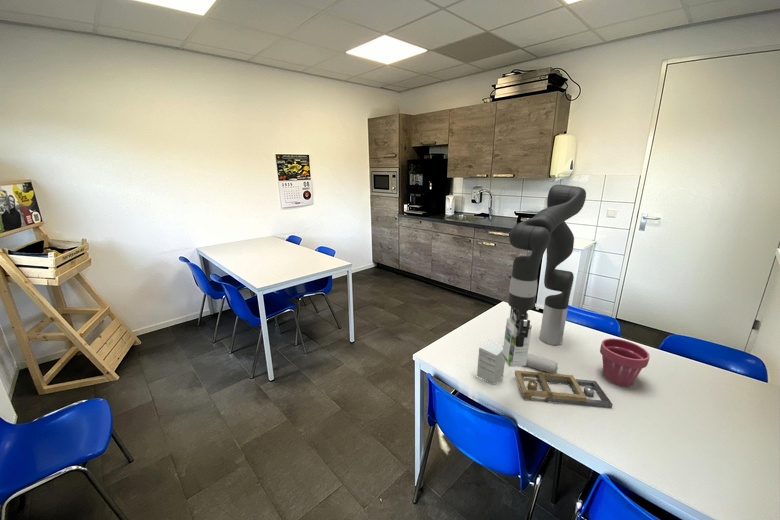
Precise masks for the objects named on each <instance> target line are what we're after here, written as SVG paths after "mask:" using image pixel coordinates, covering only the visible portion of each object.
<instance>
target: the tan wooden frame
mask: <svg viewBox="0 0 780 520" xmlns="http://www.w3.org/2000/svg"><path fill="white" fill-rule="evenodd" d="M514 371H515V372H514V375H515V378H516V381H517V383H518V386H519V388H520V393H521V395H522V396H523V397H524V400H525V401H532V398H542V399H546V398H552V399H562V400H572V401H582V402H586V401H587V399H588V398H587V396H585V394H584V392H583V391H584V390H582V388H581V386H580V385H579V384H578V383H577V381H576V380H575V379H576V378H575V376H574V375H573V374H561V373H549V372H543V371H541V372H540V371H527V370H517V369H514ZM525 378H533V380H532V379H530V380H528V382H527V387H526V383H525V381H524V380H525ZM537 378H539V380H540V382H541V385H542V387H543V389H544V391H542V390H538V381H535V380H534V379H537ZM546 379H553V380H564V381H570V383H571V385H572V386H573V388H574V390H575V392H576V393H577V394H574V393H568V392H557V391H552V390H551V388H550V386H549V383H547V381H546Z"/></svg>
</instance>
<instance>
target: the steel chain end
mask: <svg viewBox="0 0 780 520" xmlns="http://www.w3.org/2000/svg"><path fill="white" fill-rule="evenodd" d="M536 380H537V381H536V382H537V384H538V385H539V387H540V389H541V391H544V389H543V387H542V385H541V382H540V380H539V378H536ZM575 380H576V381H577V383H578V384H579V386H580V385H581V386H580V387H582V386H583V390H582V391H583V392H584V394H585V396H586V397H588V398H587V401H586V402H582V401H572V400H562V399H552V398H545V401H546V402H547V403H554V404H566V405H574V406H576V405H577V406H586V407H594V408H604V409H605V408H606V409H612V408H613V403H612V401H611V400H610V399H609V397H608V396H607V394H606V393H605V392H604V390H603V389H602V388H601V386H600V384H599V383H598V382H597V381H596V380H592V379H579V378H575ZM546 381H547V382H548V384H549V383H550V384H558V383H561V385H568V386H569V388H570V389H572V390H571V391H572V394H577V393H576V392H575V390H574V388H573V386H572V385H571V383H570V381H564V380H553V379H546ZM595 393H596V394H597V396H598V397H599V399H590V398H593V397H594V394H595Z"/></svg>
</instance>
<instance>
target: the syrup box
mask: <svg viewBox="0 0 780 520" xmlns="http://www.w3.org/2000/svg"><path fill="white" fill-rule="evenodd" d="M505 324H506V325H505V331H504V337H503V345H502V346H503V353H502V357H503V358H504V360H505V364H506V365H507V366H508V367H511V368H512V367H524V366H525V367H526V361H527V355H528V354H529V349H530V348H529V347H530V341H531V334H532V327H533V326H532V324H530V326H529V331H528V337H527V338H524V344H523V347H516V345H515V342H516V332H517V328H516V327H515V319H514V318H512V317H510V316H509V317H507V318H506V323H505ZM517 325H518V326H519V325H520V324H517ZM522 332H523V331H522Z"/></svg>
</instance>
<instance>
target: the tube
mask: <svg viewBox="0 0 780 520" xmlns="http://www.w3.org/2000/svg"><path fill="white" fill-rule="evenodd" d="M526 366H527V367H530V368H534V369H536V370H540V371H542V370H543V371H542V372H545V373H553V374H557V370H558V369H559V367H558V363H557V362H556V361H555V360H552V359H548V358H545V357H541V356H538V355H534V354H530V353H528V355H527V361H526ZM526 366H525V367H526Z"/></svg>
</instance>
